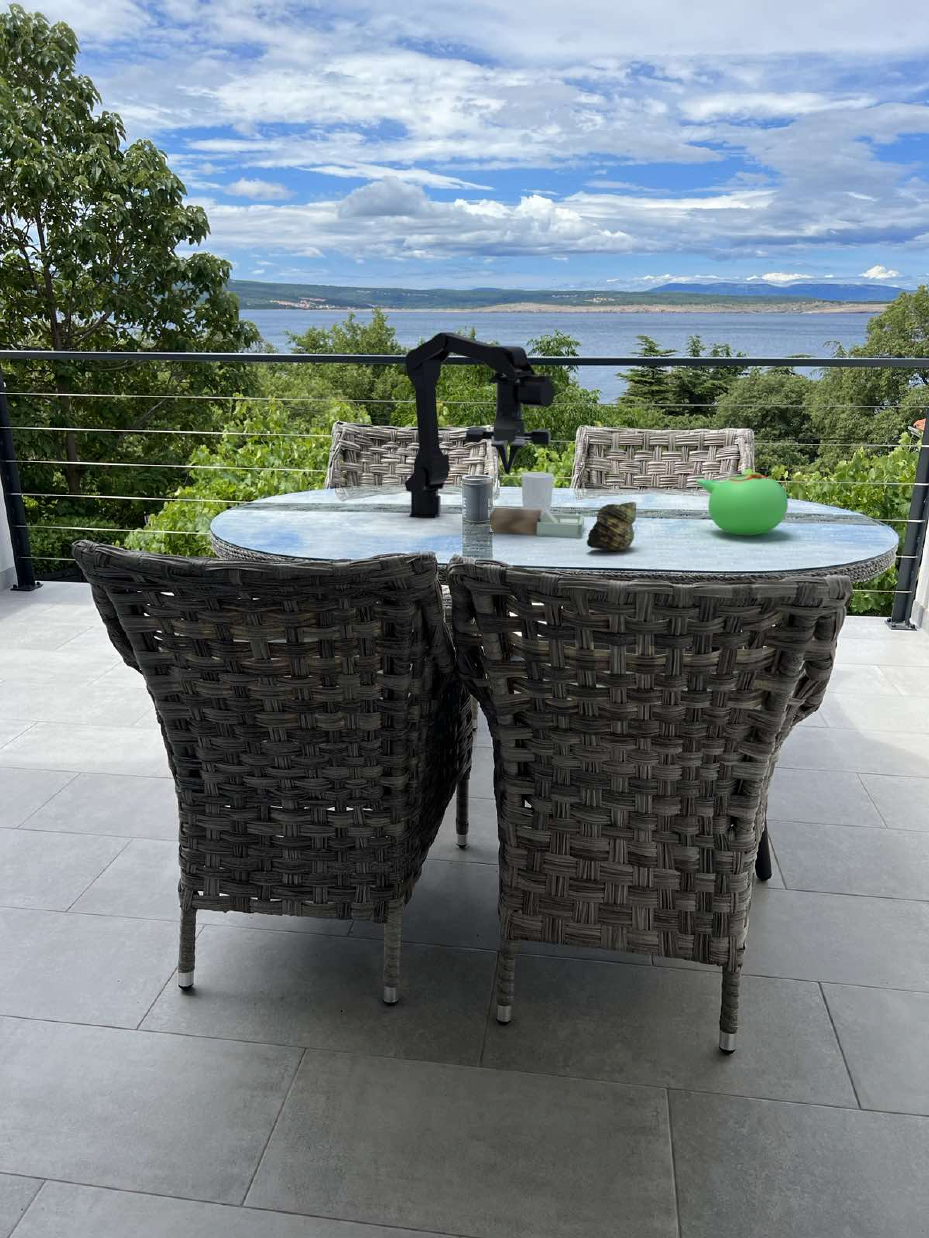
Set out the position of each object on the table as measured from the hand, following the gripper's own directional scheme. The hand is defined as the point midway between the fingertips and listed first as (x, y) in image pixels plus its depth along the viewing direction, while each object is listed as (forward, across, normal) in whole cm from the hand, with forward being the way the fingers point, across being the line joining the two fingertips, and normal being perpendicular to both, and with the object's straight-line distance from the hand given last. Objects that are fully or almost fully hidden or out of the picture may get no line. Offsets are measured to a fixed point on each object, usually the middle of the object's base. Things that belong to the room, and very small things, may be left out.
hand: (507, 474), depth 227 cm
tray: (+13, +13, 0) cm, 18 cm away
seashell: (+13, +24, -15) cm, 31 cm away
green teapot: (+13, +54, +7) cm, 56 cm away
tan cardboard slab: (+13, +2, 0) cm, 13 cm away
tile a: (+11, +9, 0) cm, 14 cm away
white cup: (+13, +5, +19) cm, 23 cm away
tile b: (+10, +14, 0) cm, 18 cm away
